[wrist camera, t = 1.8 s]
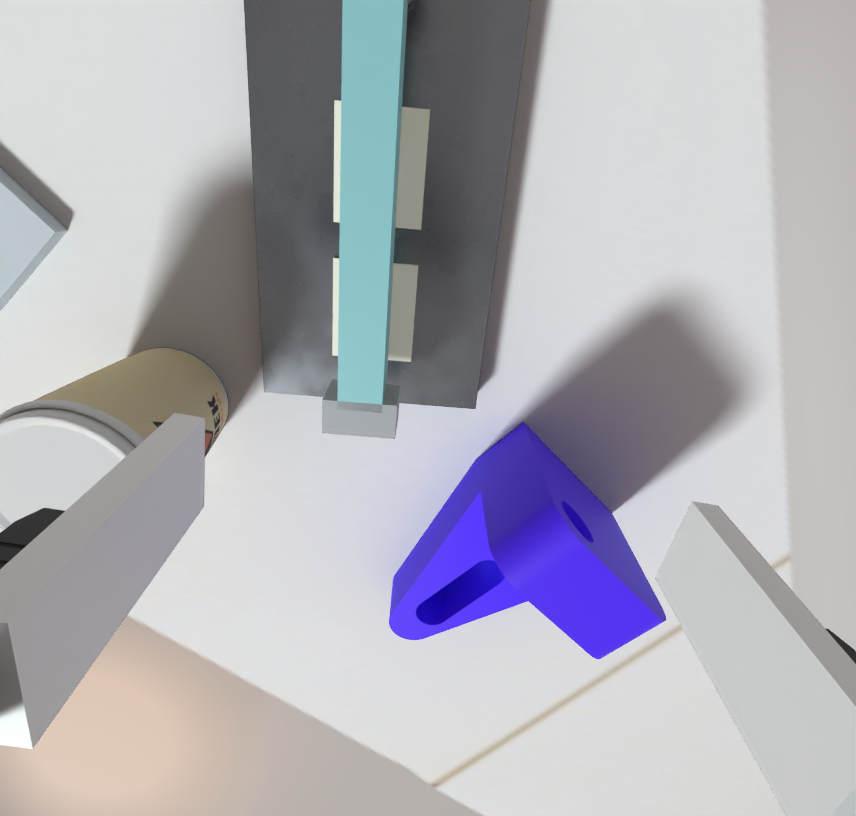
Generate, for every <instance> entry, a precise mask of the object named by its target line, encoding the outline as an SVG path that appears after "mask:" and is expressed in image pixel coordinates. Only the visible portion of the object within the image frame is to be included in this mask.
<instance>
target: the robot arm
mask: <svg viewBox="0 0 856 816" xmlns="http://www.w3.org/2000/svg"><path fill="white" fill-rule="evenodd" d="M204 469H205V418H202V417H196V416H191V415H185V414H179V413H174V414H173V415H172V416H171V417H170V418H168V419H167V420H166V421H165V422H164V423H163V424H162V425H161V426H159V427H158V428H157V429H156V430H155V431H154V432H153V433H152V434H151V435H149V436H148V437H147V438H146V439H145V440H144V441H143V442H142V443H141V444H139V445H138V446H137V447H136V448H135V449H134V450H133V451H132V452H131V453H129V454H128V455H127V456H126V457H125V458H124V459H123V460H122V461H120V462H119V463H118V464H117V465H116V466H115V467H114V468H113V469H112V470H110V471H109V472H108V473H107V474H106V475H105V476H104V477H103V478H102V479H100V480H99V481H98V482H97V483H96V484H95V485H94V486H93V487H91V488H90V489H89V490H88V491H87V492H86V493H85V494H84V495H83V496H81V497H80V498H79V499H78V500H77V501H76V502H75V503H74V504H73V505H71V506H70V507H69V508H68V509H67V510H66V511H63V510H57V509H50V508H42V509H40V510H38V511H36V512H34V513H32V514H30V515H27V516H25V517H23V518H21V519H19V520H17V521H15V522H13V523H12V524H11V525H10V526H8V527H7V528H6V529H5V530H3V531H2V532H1V533H0V745H7V746H14V747H22V748H30V749H33V748H34V746H35V745H36V744H37V742H38V741H39V739H40V738H41V736H42V735H43V733H44V732H45V731H46V729H47V728H48V727H49V725H50V723H51V722H52V721H53V719H54V718H55V717H56V715H57V714H58V712H59V711H60V710H61V708H62V707H63V705H64V704H65V702H66V701H67V700H68V698H69V696H70V695H71V694H72V693H73V691H74V690H75V688H76V687H77V685H78V684H79V683H80V681H81V680H82V678H83V677H84V675H85V674H86V673H87V671H88V670H89V668H90V667H91V666H92V664H93V663H94V661H95V660H96V659H97V657H98V656H99V654H100V653H101V651H102V650H103V649H104V647H105V646H106V644H107V643H108V642H109V640H110V639H111V637H112V636H113V634H114V633H115V632H116V630H117V629H118V627H119V626H120V625H121V623H122V622H123V620H124V619H125V617H126V616H127V615H128V613H129V612H130V610H131V609H132V608H133V606H134V605H135V603H136V602H137V601H138V599H139V598H140V596H141V595H142V593H143V592H144V591H145V589H146V588H147V586H148V585H149V584H150V582H151V581H152V579H153V578H154V576H155V575H156V574H157V572H158V571H159V569H160V568H161V567H162V565H163V564H164V562H165V561H166V559H167V558H168V557H169V555H170V554H171V552H172V551H173V550H174V548H175V547H176V545H177V544H178V542H179V541H180V540H181V538H182V537H183V535H184V534H185V533H186V531H187V530H188V528H189V527H190V525H191V524H192V523H193V521H194V520H195V518H196V517H197V516H198V514H199V513H200V511H201V510H202V508H203V507H204ZM655 579H656V581H657V583H658V585H659V587H660V588H661V590H662V592H663V594H664V596H665V597H666V599H667V601H668V603H669V605H670V607H671V608H672V610H673V612H674V614H675V616H676V617H677V619H678V621H679V623H680V625H681V626H682V628H683V630H684V632H685V634H686V636H687V637H688V639H689V641H690V643H691V645H692V646H693V648H694V650H695V652H696V654H697V655H698V657H699V659H700V661H701V663H702V665H703V666H704V668H705V670H706V672H707V674H708V675H709V677H710V679H711V681H712V683H713V684H714V686H715V688H716V690H717V692H718V694H719V695H720V697H721V699H722V701H723V703H724V704H725V706H726V708H727V710H728V712H729V713H730V715H731V717H732V719H733V721H734V723H735V724H736V726H737V728H738V730H739V732H740V733H741V735H742V737H743V739H744V741H745V742H746V744H747V746H748V748H749V750H750V752H751V753H752V755H753V757H754V759H755V761H756V762H757V764H758V766H759V768H760V770H761V771H762V773H763V775H764V777H765V779H766V781H767V782H768V784H769V786H770V788H771V790H772V791H773V793H774V795H775V797H776V799H777V800H778V802H779V804H780V806H781V808H782V810H783V811H784V813H785V815H786V816H856V652H855V650H854V649H853V648H851V647H850V646H849V645H847V644H846V643H845V642H844V641H842V640H841V639H840V638H839V637H838V636H836V635H835V634H834V633H833V632H831V631H830V630H829V629H825V628H824V627H823V626H822V625H821V623H819V621H818V620H817V619H816V618H815V617H814V616H813V614H812V613H811V612H810V611H809V610H808V608H807V607H806V606H805V605H804V604H803V603H802V602H801V600H800V599H799V598H798V597H797V596H796V595H795V594H794V592H793V591H792V590H791V589H790V588H789V587H788V585H787V584H786V583H785V582H784V581H783V580H782V579H781V577H780V576H779V575H778V574H777V573H776V572H775V570H774V569H773V568H772V567H771V566H770V565H769V564H768V562H767V561H766V560H765V559H764V558H763V557H762V556H761V554H760V553H759V552H758V551H757V550H756V549H755V547H754V546H753V545H752V544H751V543H750V542H749V541H748V539H747V538H746V537H745V536H744V535H743V534H742V532H741V531H740V530H739V529H738V528H737V527H736V526H735V524H734V523H733V522H732V521H731V520H730V519H729V518H728V516H727V515H726V514H725V513H724V512H723V511H722V509H721V508H720V507H719V506H716V505H710V504H705V503H699V502H693V501H692V502H691V504H690V506H689V508H688V510H687V512H686V514H685V517H684V519H683V521H682V523H681V525H680V527H679V529H678V531H677V533H676V535H675V538H674V540H673V542H672V544H671V546H670V548H669V550H668V552H667V554H666V556H665V558H664V561H663V563H662V565H661V567H660V569H659V571H658V573H657V575H656V577H655Z"/></svg>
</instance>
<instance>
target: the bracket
mask: <svg viewBox="0 0 856 816" xmlns="http://www.w3.org/2000/svg"><path fill="white" fill-rule="evenodd" d="M526 601H529V602H530V603H531V604H532V605H534V606H535V607H536V608H537V609H538V610H539V611H540V612H542V613H543V614H544V615H545V616H546V617H547V618H548V619H550V620H551V621H552V622H553V623H554V624H555V625H556V626H558V627H559V628H560V629H561V630H562V631H563V632H564V633H566V634H567V635H568V636H569V637H570V638H571V639H572V640H574V641H575V642H576V643H577V644H578V645H579V646H580V647H582V648H583V649H584V650H585V651H586V652H587V653H588V654H590V655H591V656H592V657H594V658H596V659H601V658H602V657H604V656H606V655H607V654H609V653H611V652H613V651H614V650H616V649H618V648H619V647H621V646H623V645H625V644H626V643H628V642H630V641H631V640H633V639H635V638H636V637H638V636H640V635H642V634H643V633H645V632H647V631H648V630H650V629H652V628H654V627H655V626H657V625H659V624H660V623H662V622H664V621H665V620H666V616H665V613H664V611H663V609H662V607H661V605H660V603H659V601H658V599H657V597H656V595H655V594H654V592H653V590H652V588H651V586H650V584H649V582H648V580H647V578H646V577H645V575H644V573H643V571H642V569H641V567H640V565H639V563H638V561H637V560H636V558H635V556H634V554H633V552H632V550H631V548H630V546H629V545H628V543H627V541H626V539H625V537H624V535H623V533H622V531H621V529H620V528H619V526H618V524H617V522H616V520H615V518H614V516H613V514H612V513H611V512H610V511H609V510H608V509H607V508H606V507H605V506H604V505H603V503H602V502H601V501H600V500H599V499H598V498H597V497H596V496H595V495H594V494H593V493H592V492H591V491H590V490H589V489H588V488H587V487H586V486H585V485H584V484H583V483H582V482H581V481H580V480H579V479H578V478H577V477H576V476H575V475H574V474H573V472H572V471H571V470H570V469H569V468H568V467H567V466H566V465H565V464H564V463H563V462H562V461H561V460H560V459H559V458H558V457H557V456H556V455H555V454H554V453H553V452H552V451H551V450H550V449H549V448H548V447H547V446H546V445H545V444H544V442H543V441H542V440H541V439H540V438H539V437H538V436H537V435H536V434H535V433H534V432H533V431H532V430H531V429H530V428H529V427H528V426H527V425H526V424H525V423H524V422H523V423H522V424H520V425H519V426H518V427H517V428H515V429H514V430H513V431H511V432H510V433H509V434H508V435H506V436H505V437H504V438H503V439H501V440H500V441H499V442H498V443H496V444H495V445H494V446H493V447H491V448H490V449H489V450H487V451H486V452H485V453H484V454H482V455H481V456H480V457H479V458H477V459H476V460H475V462H474V463H473V464H472V466H471V467H470V469H469V470H468V472H467V473H466V474H465V476H464V477H463V479H462V480H461V482H460V483H459V484H458V486H457V487H456V489H455V490H454V492H453V493H452V494H451V496H450V497H449V499H448V500H447V502H446V503H445V504H444V506H443V507H442V509H441V510H440V511H439V513H438V514H437V516H436V517H435V519H434V520H433V521H432V523H431V524H430V526H429V527H428V529H427V530H426V531H425V533H424V534H423V536H422V537H421V539H420V540H419V541H418V543H417V544H416V546H415V547H414V549H413V550H412V551H411V553H410V554H409V556H408V557H407V559H406V560H405V561H404V563H403V564H402V566H401V567H400V569H399V570H398V571H397V573H396V574H395V576H394V579H393V587H392V597H391V607H390V618H389V624H390V627H391V629H392V631H393V632H394V633H395V634H397V635H398V636H400V637H402V638H405V639H409V640H419V639H424V638H426V637H429V636H432V635H435V634H437V633H440V632H443V631H446V630H449V629H451V628H454V627H457V626H460V625H463V624H465V623H468V622H471V621H474V620H476V619H479V618H482V617H485V616H488V615H490V614H493V613H496V612H499V611H501V610H504V609H507V608H510V607H513V606H515V605H518V604H521V603H524V602H526Z"/></svg>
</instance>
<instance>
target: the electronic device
mask: <svg viewBox="0 0 856 816" xmlns="http://www.w3.org/2000/svg"><path fill="white" fill-rule="evenodd" d="M67 231H68V230H67V229H66V228H65V227H64V226H63V225H62V224H61V223H60V222H58V221H57V220H56V219H55V218H54V217H53V216H52V215H51V214H50V213H49V212H48V211H47V210H46V209H44V208H43V207H42V206H41V205H40V204H39V203H38V202H37V201H36V200H35V199H34V198H33V197H32V196H30V195H29V194H28V193H27V192H26V191H25V190H24V189H23V188H22V187H21V186H20V185H19V184H18V183H16V182H15V181H14V180H13V179H12V178H11V177H10V176H9V175H8V174H7V173H6V172H5V171H4V170H2V169H1V168H0V311H1V310H2V308H3V307H4V306H5V305H6V304H7V303H8V301H9V300H10V299H11V298H12V297H13V295H14V294H15V293H16V292H17V291H18V289H19V288H20V287H21V286H22V285H23V283H24V282H25V281H26V280H27V279H28V277H29V276H30V275H31V274H32V273H33V271H34V270H35V269H36V268H37V267H38V266H39V264H40V263H41V262H42V261H43V260H44V258H45V257H46V256H47V255H48V254H49V252H50V251H51V250H52V249H53V248H54V246H55V245H56V244H57V243H58V242H59V240H60V239H61V238H62V237H63V236H64V234H65V233H66V232H67Z"/></svg>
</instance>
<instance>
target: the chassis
mask: <svg viewBox="0 0 856 816" xmlns="http://www.w3.org/2000/svg"><path fill="white" fill-rule="evenodd" d="M530 2H531V0H412V1H411V2H410V4H409V5H408V10H407V28H406V46H405V64H404V82H403V100H402V107H410V108H420V109H430V118H429V131H428V144H427V158H426V171H425V184H424V197H423V211H422V224H421V230H417V229H406V228H395V244H394V262H393V263H401V264H412V265H418V277H417V290H416V304H415V317H414V330H413V344H412V357H411V362H406V361H394V360H388V370H387V384H394V385H400V396H399V403H407V404H420V405H432V406H444V407H457V408H469V409H475V408H476V400H477V393H478V386H479V378H480V371H481V363H482V356H483V349H484V341H485V334H486V327H487V319H488V312H489V304H490V297H491V290H492V282H493V275H494V268H495V260H496V253H497V245H498V238H499V231H500V223H501V216H502V209H503V201H504V194H505V186H506V179H507V172H508V164H509V157H510V150H511V142H512V135H513V127H514V120H515V113H516V105H517V98H518V91H519V83H520V76H521V68H522V61H523V54H524V46H525V39H526V32H527V24H528V17H529V9H530ZM342 5H343V0H244V12H245V31H246V51H247V70H248V90H249V109H250V128H251V148H252V167H253V186H254V206H255V225H256V244H257V264H258V283H259V302H260V322H261V341H262V361H263V380H264V392H270V393H283V394H295V395H308V396H320V397H324V396H325V394H326V392H327V390H328V387H329V385H330V383H331V381H332V379H333V380H338V356H333V355H332V338H333V258H339V241H340V223H339V222H333V212H334V100H338V101H341V84H342Z"/></svg>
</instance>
